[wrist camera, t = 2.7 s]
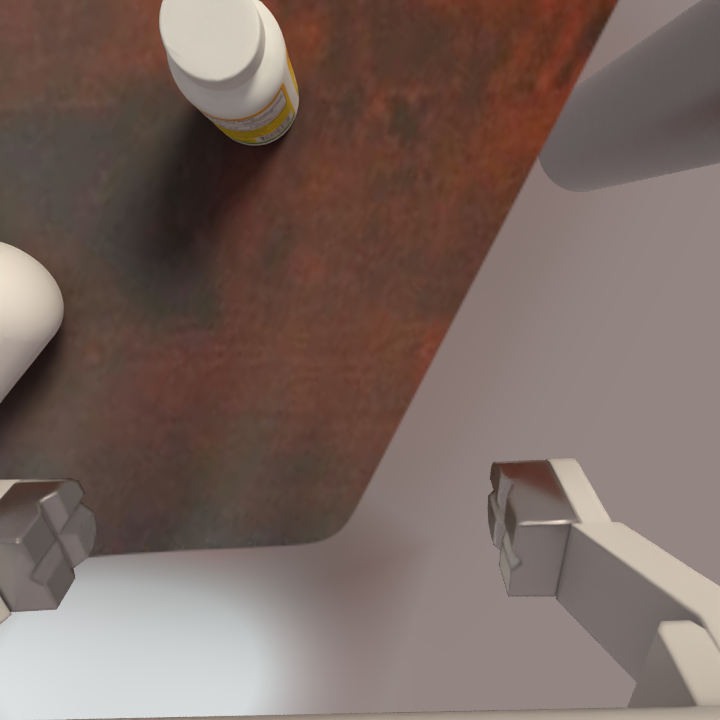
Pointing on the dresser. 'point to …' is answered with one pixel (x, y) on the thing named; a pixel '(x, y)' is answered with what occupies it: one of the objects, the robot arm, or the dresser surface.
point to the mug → (24, 313)
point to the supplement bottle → (231, 66)
